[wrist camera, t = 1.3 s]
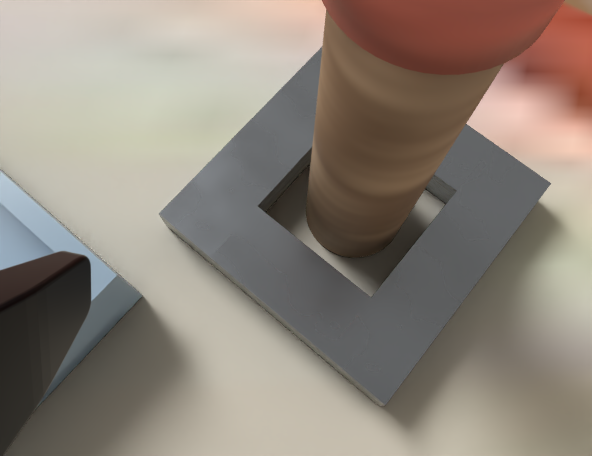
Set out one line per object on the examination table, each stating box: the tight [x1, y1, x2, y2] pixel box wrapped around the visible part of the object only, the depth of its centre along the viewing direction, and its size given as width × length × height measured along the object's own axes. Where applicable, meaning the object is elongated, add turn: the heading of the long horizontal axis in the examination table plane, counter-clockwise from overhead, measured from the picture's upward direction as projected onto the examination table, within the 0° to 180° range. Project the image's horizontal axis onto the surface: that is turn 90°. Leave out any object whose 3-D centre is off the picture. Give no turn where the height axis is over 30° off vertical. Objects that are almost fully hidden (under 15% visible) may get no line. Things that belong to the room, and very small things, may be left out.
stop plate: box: [159, 46, 551, 406], centre depth 22 cm, size 11×11×2 cm
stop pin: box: [306, 0, 565, 258], centre depth 16 cm, size 5×5×15 cm
